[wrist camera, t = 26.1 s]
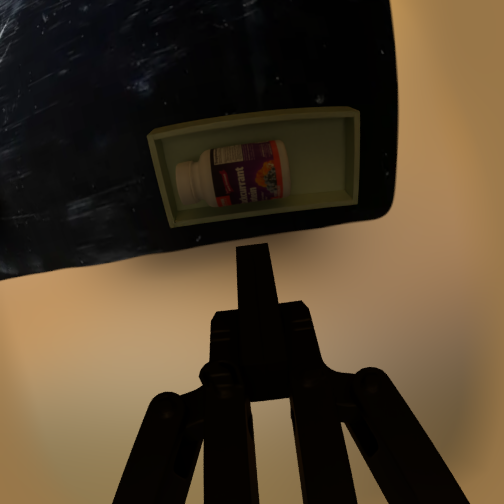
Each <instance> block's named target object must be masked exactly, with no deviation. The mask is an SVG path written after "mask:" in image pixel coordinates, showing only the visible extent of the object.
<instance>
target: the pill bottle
mask: <svg viewBox="0 0 504 504" xmlns="http://www.w3.org/2000/svg"><path fill="white" fill-rule="evenodd" d="M176 183H177V189H178V193H179V197H180V199H181V202H182V203H183V205H189V204H196V203H199V202H200V200H206V202H207V204H208V205H209V206H211V207H223V206H229V205H235V204H242V203H249V202H256V201H264V200H272V199H280V198H286V197H288V196H289V195H290V192H291V178H290V167H289V160H288V155H287V151H286V148H285V145H284V143H283V142H282V141H281V140H272V141H263V142H255V143H248V144H240V145H234V146H227V147H221V148H215V149H210V150H206V151H204V152H203V153H202V154H201V155H200V158H199V161H198V162H193V161H187V162H182V163H178V164H177V166H176Z"/></svg>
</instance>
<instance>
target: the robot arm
mask: <svg viewBox="0 0 504 504" xmlns="http://www.w3.org/2000/svg"><path fill="white" fill-rule="evenodd" d="M236 261H237V288H238V289H237V290H238V309H236V310H228V311H218V312H216V313H215V315H214V317H213V319H212V320H211V334H210V358H209V362H208V363H206V364H205V365H204V366H203V368H202V369H201V371H200V374H199V378H200V380H201V382H202V384H203V385H202V386H201V387H199V388H198V389H196V390H194V391H191V392H188V393H186V394H183V395H178V394H176V393H173V392H163V393H160V394H158V395H157V396H155V397H154V398H153V399H152V401H151V402H150V404H149V406H148V409H147V411H146V414H145V417H144V419H143V422H142V424H141V427H140V429H139V432H138V435H137V437H136V440H135V443H134V445H133V448H132V450H131V453H130V456H129V459H128V461H127V464H126V467H125V469H124V472H123V475H122V477H121V480H120V483H119V486H118V489H117V491H116V494H115V497H114V500H113V503H112V504H185V501H186V497H187V494H188V491H189V487H190V484H191V480H192V477H193V473H194V470H195V466H196V463H197V459H198V456H199V452H200V449H201V445H202V442H203V439H204V504H259V493H258V481H257V468H256V456H255V443H254V431H253V418H252V413H251V406H250V402H257V401H267V400H275V399H283V398H289V399H290V406H291V419H292V424H293V431H294V438H295V446H296V453H297V460H298V467H299V474H300V482H301V490H302V497H303V504H357V498H356V493H355V488H354V483H353V478H352V473H351V468H350V463H349V459H348V454H347V449H346V445H345V440H344V436H343V431H342V427H341V422H344V423H345V425H346V427H347V428H348V430H349V432H350V434H351V436H352V438H353V439H354V441H355V443H356V445H357V447H358V449H359V451H360V452H361V454H362V456H363V458H364V460H365V461H366V463H367V465H368V467H369V468H370V470H371V472H372V474H373V476H374V478H375V480H376V481H377V483H378V485H379V487H380V489H381V491H382V493H383V494H384V496H385V498H386V500H387V502H388V503H389V504H470V503H469V501H468V500H467V498H466V496H465V495H464V493H463V491H462V490H461V488H460V486H459V485H458V483H457V481H456V480H455V478H454V476H453V475H452V473H451V472H450V470H449V468H448V467H447V465H446V464H445V462H444V461H443V459H442V457H441V456H440V454H439V452H438V451H437V450H436V448H435V446H434V445H433V443H432V442H431V440H430V438H429V437H428V435H427V434H426V432H425V431H424V429H423V428H422V426H421V425H420V423H419V421H418V420H417V418H416V417H415V415H414V414H413V412H412V411H411V410H410V408H409V406H408V405H407V403H406V402H405V400H404V399H403V397H402V396H401V394H400V393H399V392H398V390H397V389H396V387H395V386H394V384H393V383H392V381H391V380H390V378H389V377H388V376H387V374H386V373H384V371H383V370H380V369H378V368H375V367H367V368H363V369H361V370H360V371H358V372H357V373H356V374H351V373H341V372H336V371H334V370H331V369H330V368H329V367H327V366H326V364H325V363H324V362H323V360H322V357H321V353H320V350H319V346H318V342H317V338H316V334H315V330H314V326H313V322H312V319H311V315H310V311H309V308H308V307H307V306H306V305H305V304H304V303H303V302H302V300H301V301H294V302H287V303H278V297H277V292H276V286H275V281H274V275H273V270H272V264H271V259H270V253H269V248H268V243H263V244H254V245H247V246H238V247H236Z"/></svg>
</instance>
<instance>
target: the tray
mask: <svg viewBox="0 0 504 504" xmlns="http://www.w3.org/2000/svg"><path fill="white" fill-rule="evenodd" d="M147 139H148V143H149V148H150V152H151V156H152V160H153V165H154V169H155V173H156V177H157V181H158V185H159V189H160V192H161V196H162V200H163V204H164V208H165V211H166V215H167V218H168V222H169V226H170V228H174V227H181V226H187V225H194V224H201V223H208V222H215V221H222V220H229V219H236V218H244V217H252V216H259V215H267V214H275V213H283V212H291V211H300V210H309V209H317V208H326V207H336V206H345V205H352V204H353V205H355V204H358V188H359V161H360V111H358V110H356V109H353V108H351V107H349V106H336V107H309V108H293V109H280V110H269V111H259V112H250V113H242V114H234V115H227V116H220V117H214V118H207V119H201V120H195V121H190V122H184V123H179V124H174V125H169V126H164V127H160V128H155V129H154V130H152V131H151V132H150V133H149V134H148V135H147ZM272 140H281V141H282V142H283V143H284V145H285V148H286V151H287V155H288V160H289V167H290V178H291V192H290V195H289V196H288V197H286V198H280V199H272V200H264V201H256V202H249V203H242V204H235V205H229V206H223V207H211V206H209V205H208V204H207V202H206V200H200V202H199V203H196V204H189V205H183V203H182V202H181V199H180V197H179V193H178V189H177V183H176V166H177V164H178V163H182V162H187V161H193V162H198V161H199V158H200V155H201V154H202V153H203V152H204V151H206V150H210V149H215V148H221V147H227V146H234V145H240V144H248V143H255V142H263V141H272Z"/></svg>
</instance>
